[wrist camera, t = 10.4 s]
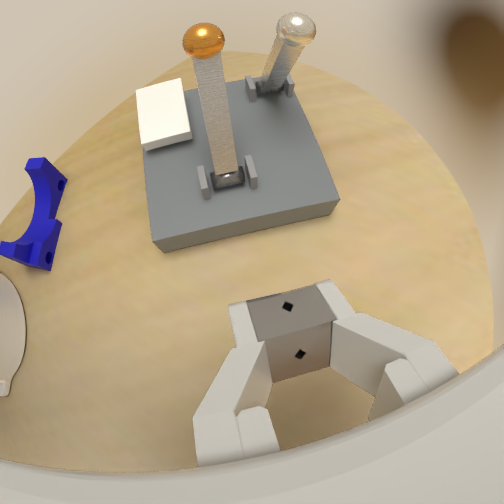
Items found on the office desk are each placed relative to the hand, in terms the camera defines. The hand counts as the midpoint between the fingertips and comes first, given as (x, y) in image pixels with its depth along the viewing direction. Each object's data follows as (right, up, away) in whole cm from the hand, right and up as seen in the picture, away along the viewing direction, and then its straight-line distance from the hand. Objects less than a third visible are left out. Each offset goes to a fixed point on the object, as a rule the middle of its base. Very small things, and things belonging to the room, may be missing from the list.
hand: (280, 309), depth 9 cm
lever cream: (+1, +20, +22) cm, 30 cm away
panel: (-3, +12, +25) cm, 28 cm away
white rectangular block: (-10, +16, +19) cm, 27 cm away
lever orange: (-3, +8, +18) cm, 21 cm away
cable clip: (-26, +5, +23) cm, 35 cm away
